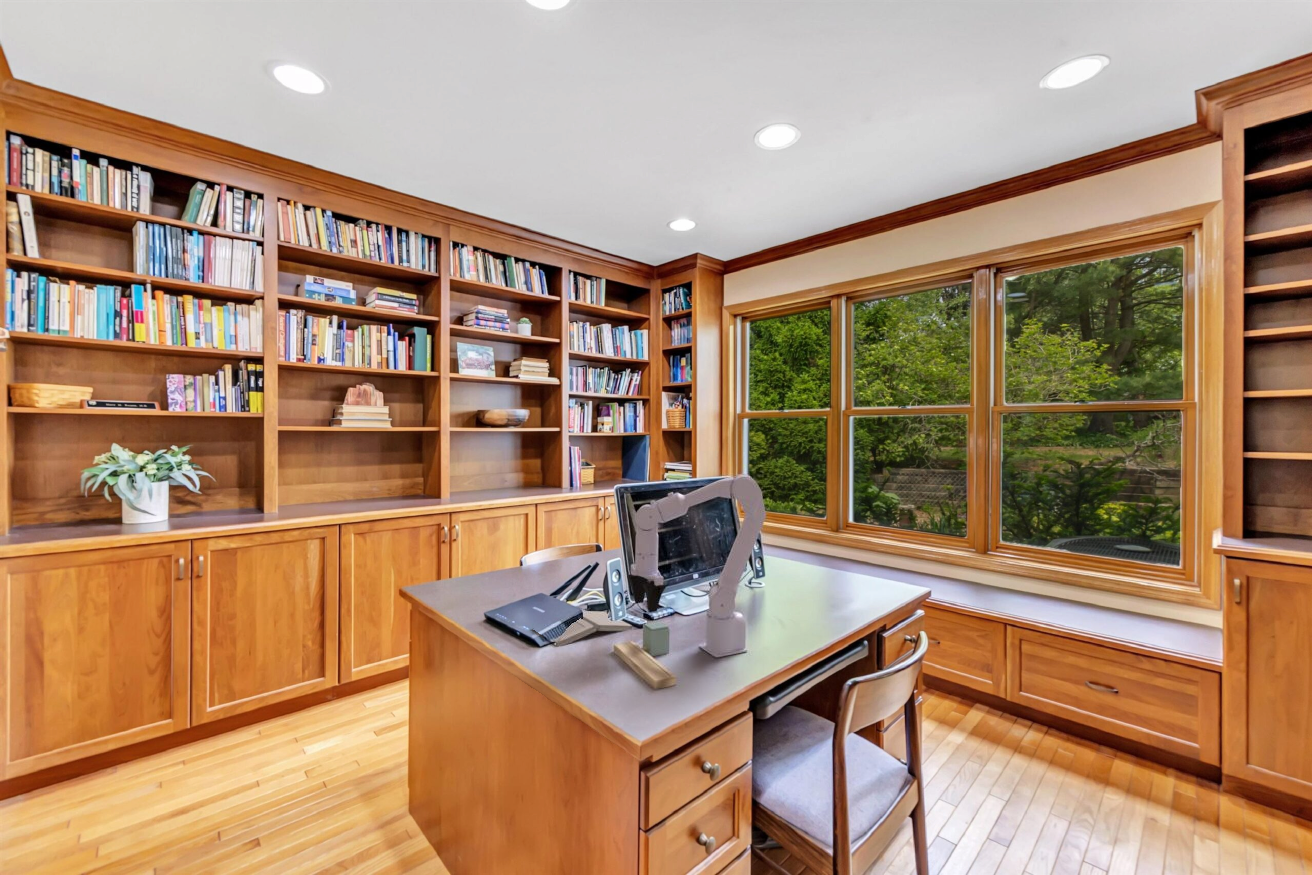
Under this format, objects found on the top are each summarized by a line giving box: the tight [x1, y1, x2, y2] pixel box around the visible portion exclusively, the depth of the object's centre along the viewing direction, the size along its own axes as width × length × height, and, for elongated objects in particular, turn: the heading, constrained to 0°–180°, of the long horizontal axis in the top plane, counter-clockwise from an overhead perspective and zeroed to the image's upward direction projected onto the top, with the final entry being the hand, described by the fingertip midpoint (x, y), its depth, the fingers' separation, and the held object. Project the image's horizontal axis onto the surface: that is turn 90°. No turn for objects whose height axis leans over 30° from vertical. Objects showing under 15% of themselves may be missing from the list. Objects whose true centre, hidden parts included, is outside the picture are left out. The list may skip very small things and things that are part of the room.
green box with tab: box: [641, 621, 671, 657], centre depth 135 cm, size 6×4×6 cm
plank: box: [613, 640, 677, 690], centre depth 126 cm, size 5×22×2 cm, turn 27°
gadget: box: [554, 610, 633, 648], centre depth 150 cm, size 23×15×4 cm, turn 127°
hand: (645, 606), depth 139 cm, fingers open, 7 cm apart
